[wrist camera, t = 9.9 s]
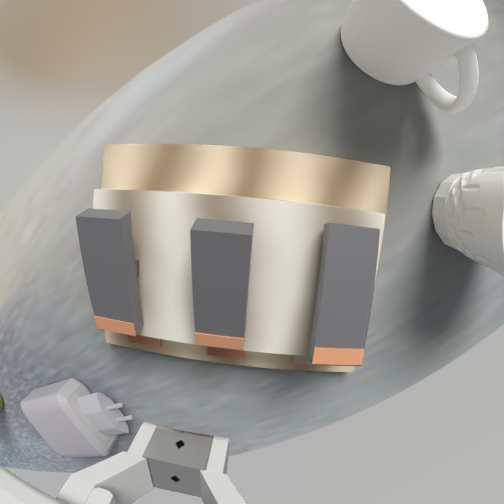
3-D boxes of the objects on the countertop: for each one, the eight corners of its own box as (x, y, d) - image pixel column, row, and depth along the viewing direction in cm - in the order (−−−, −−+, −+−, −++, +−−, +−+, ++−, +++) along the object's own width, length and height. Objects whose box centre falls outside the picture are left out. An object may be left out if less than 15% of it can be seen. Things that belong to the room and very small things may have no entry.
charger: (159, 427, 28) (78, 439, 30) (111, 362, 27) (37, 386, 29) (146, 456, 24) (63, 460, 25) (89, 387, 22) (17, 405, 24)
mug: (429, -60, 8) (536, 78, 10) (388, 0, 18) (462, 104, 20) (344, -52, 9) (478, 115, 11) (320, 24, 20) (402, 139, 21)
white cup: (465, 270, 23) (535, 306, 13) (410, 224, 23) (484, 245, 13) (499, 201, 21) (572, 211, 12) (448, 149, 21) (526, 136, 11)
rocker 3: (371, 230, 17) (380, 228, 16) (354, 358, 18) (361, 366, 16) (324, 224, 17) (329, 222, 16) (308, 356, 18) (311, 365, 16)
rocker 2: (254, 223, 16) (251, 236, 14) (245, 334, 20) (242, 351, 18) (196, 218, 16) (189, 230, 14) (200, 329, 20) (195, 345, 18)
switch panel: (383, 168, 22) (415, 162, 16) (350, 363, 25) (366, 400, 20) (113, 147, 22) (76, 138, 17) (113, 335, 26) (83, 364, 20)
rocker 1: (130, 211, 16) (119, 219, 15) (143, 323, 20) (135, 337, 18) (88, 208, 16) (74, 217, 15) (106, 316, 20) (97, 329, 18)
